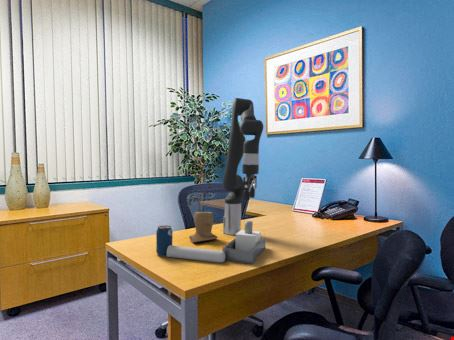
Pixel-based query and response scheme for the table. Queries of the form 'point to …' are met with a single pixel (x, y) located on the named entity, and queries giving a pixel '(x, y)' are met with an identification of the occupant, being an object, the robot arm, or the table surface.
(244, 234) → the white knobbed block
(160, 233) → the soda can
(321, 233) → the table surface
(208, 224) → the stone cup
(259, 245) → the bay
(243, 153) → the robot arm
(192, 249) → the tube
